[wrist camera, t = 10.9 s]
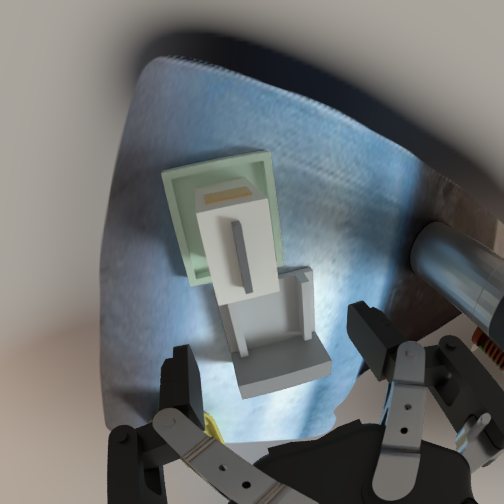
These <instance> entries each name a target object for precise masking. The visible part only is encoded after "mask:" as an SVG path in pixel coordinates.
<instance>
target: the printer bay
mask: <svg viewBox="0 0 504 504" xmlns="http://www.w3.org/2000/svg"><path fill="white" fill-rule="evenodd" d="M278 280H279V289H280V291H279V292H275V293H271V294H267V295H263V296H259V297H255V298H250V299H246V300H242V301H238V302H233V303H229V304H225V305H220V306H219V305H218V302H217V305H218V308H219V312H220V316H221V319H222V323H223V327H224V330H225V334H226V337H227V341H228V344H229V348H230V351H231V355H232V360H233V365H234V369H235V374H236V378H237V383H238V387H239V390H240V393H241V396H242V399H247V398H252V397H256V396H260V395H264V394H268V393H271V392H275V391H279V390H283V389H286V388H290V387H293V386H296V385H300V384H303V383H306V382H310V381H313V380H316V379H319V378H322V377H325V376H328V375H331V363H332V360H331V358H330V356H329V355H328V353H327V351H326V350H325V348H324V346H323V344H322V343H321V341H320V339H319V338H318V336H317V334H316V332H315V313H314V285H313V270H312V269H311V268H310V267H307V268H303V269H299V270H295V271H291V272H287V273H283V274H279V275H278ZM214 293H215V290H214ZM215 297H216V294H215ZM216 301H217V298H216Z"/></svg>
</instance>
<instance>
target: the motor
mask: <svg viewBox="0 0 504 504" xmlns="http://www.w3.org/2000/svg"><path fill="white" fill-rule="evenodd" d="M472 342H473V343H474V344H475V345H476V346H479V347H480V348H481V349H482V350H483V351H484V352H485V354H487V355H488V357H489V358H490V359H491V360H492V361H493V362H494V363H495V364H496V365H497V366H498V367H499V369H500V370H501V371H502V372H503V373H504V352H503V351H502V350H501V349H500V348H499V346H498V345H497V344H496V343H495V342H494V341H493V340H492V339H491V338H490V337H489V336H488V335H487V334H486V333H485V332H484V331H483V330H482V329H480V328H479V327H477V329H476V330H475V332H474V334H473V336H472Z"/></svg>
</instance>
